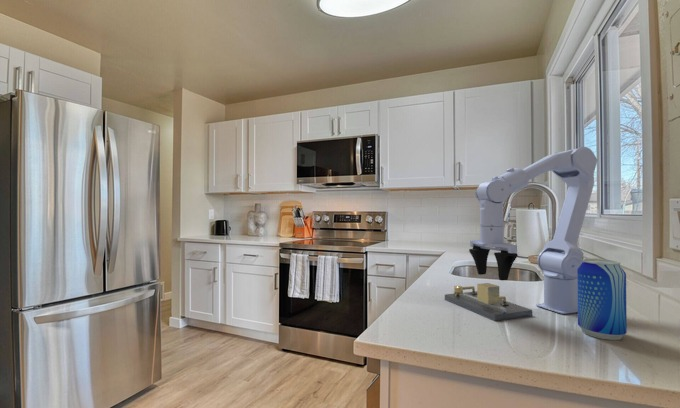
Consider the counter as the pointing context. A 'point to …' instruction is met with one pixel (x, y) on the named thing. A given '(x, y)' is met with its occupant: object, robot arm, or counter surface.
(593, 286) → the beer can
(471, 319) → the counter surface
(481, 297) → the leg
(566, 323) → the counter surface
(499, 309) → the bolt plate
